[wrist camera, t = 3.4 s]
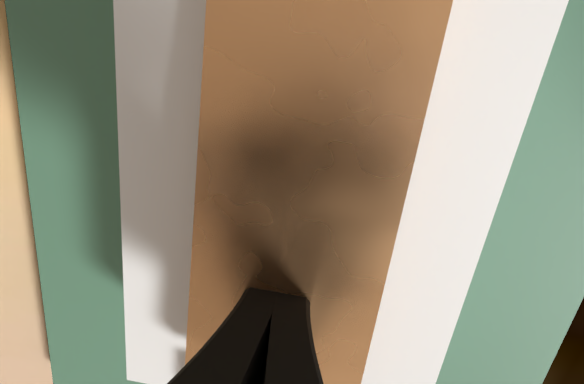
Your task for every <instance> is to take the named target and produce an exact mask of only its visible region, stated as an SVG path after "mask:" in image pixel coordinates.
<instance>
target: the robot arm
mask: <svg viewBox="0 0 584 384" xmlns="http://www.w3.org/2000/svg"><path fill="white" fill-rule="evenodd" d="M167 384H324V383H323V380H322V376H321V372H320V368H319V364H318V360H317V356H316V351H315V346H314V341H313V334H312V328H311V318H310V301H309V300H308V299H307V297H303V296H297V295H291V294H286V293H280V292H275V291H269V290H264V289H258V288H253V287H250V288H248V289H246V290H245V291H244V293H243V294H242V296H241V298H240V299H239V301H238V302H237V304H236V305H235V307H234V308H233V310H232V311H231V312H230V314H229V315H228V316H227V318H226V319H225V320H224V321H223V323H222V324H221V325H220V327H219V328H218V329H217V330H216V331H215V332H214V334H213V335H212V336H211V337H210V338H209V340H208V341H207V342H206V343H205V344H204V345H203V347H202V348H201V349H200V350H199V351H198V352H197V353H196V354H195V355H194V356H193V358H192V359H191V360H190V361H189V362H188V363H187V364H186V365H185V366H184V367H183V368H182V369H181V370H180V371H179V372H178V373H177V374H176V375H175V376H174V377H173V378H172V379H171V380H170V381H169V382H168V383H167Z"/></svg>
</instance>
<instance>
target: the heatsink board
mask: <svg viewBox="0 0 584 384" xmlns="http://www.w3.org/2000/svg"><path fill="white" fill-rule="evenodd" d="M5 8H6V16H7V24H8V31H9V39H10V47H11V55H12V63H13V71H14V79H15V86H16V94H17V102H18V110H19V118H20V126H21V134H22V141H23V149H24V157H25V165H26V173H27V181H28V189H29V196H30V204H31V212H32V220H33V228H34V236H35V244H36V251H37V259H38V267H39V275H40V283H41V291H42V299H43V306H44V314H45V322H46V330H47V338H48V346H49V354H50V361H51V369H52V377H53V384H167V383H168V382H169V381H170V380H171V379H172V378H173V377H174V376H175V375H176V374H177V373H178V372H179V371H180V370H181V369H182V368H183V367H184V366H185V355H186V338H187V321H188V304H189V286H190V269H191V252H192V235H193V218H194V201H195V184H196V167H197V150H198V133H199V116H200V98H201V81H202V64H203V47H204V30H205V13H206V0H5ZM583 297H584V0H453V3H452V7H451V12H450V16H449V20H448V24H447V28H446V32H445V37H444V41H443V45H442V49H441V53H440V57H439V62H438V66H437V70H436V74H435V78H434V82H433V86H432V91H431V95H430V99H429V103H428V107H427V111H426V116H425V120H424V124H423V128H422V132H421V136H420V141H419V145H418V149H417V153H416V157H415V161H414V165H413V170H412V174H411V178H410V182H409V186H408V190H407V195H406V199H405V203H404V207H403V211H402V215H401V220H400V224H399V228H398V232H397V236H396V240H395V244H394V249H393V253H392V257H391V261H390V265H389V269H388V274H387V278H386V282H385V286H384V290H383V294H382V299H381V303H380V307H379V311H378V315H377V319H376V323H375V328H374V332H373V336H372V340H371V344H370V348H369V353H368V357H367V361H366V365H365V369H364V373H363V377H362V382H361V384H542V383H543V381H544V379H545V376H546V374H547V372H548V370H549V368H550V366H551V364H552V362H553V360H554V358H555V356H556V354H557V351H558V349H559V347H560V345H561V343H562V341H563V339H564V337H565V335H566V333H567V331H568V329H569V326H570V324H571V322H572V320H573V318H574V316H575V314H576V312H577V310H578V308H579V306H580V304H581V301H582V299H583Z"/></svg>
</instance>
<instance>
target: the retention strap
mask: <svg viewBox="0 0 584 384" xmlns="http://www.w3.org/2000/svg"><path fill="white" fill-rule="evenodd" d="M452 3H453V0H206V13H205V30H204V47H203V64H202V81H201V98H200V116H199V133H198V150H197V167H196V184H195V201H194V218H193V235H192V252H191V269H190V286H189V304H188V321H187V338H186V355H185V365H186V364H187V363H188V362H189V361H190V360H191V359H192V358H193V356H194V355H195V354H196V353H197V352H198V351H199V350H200V349H201V348H202V347H203V345H204V344H205V343H206V342H207V341H208V340H209V338H210V337H211V336H212V335H213V334H214V332H215V331H216V330H217V329H218V328H219V327H220V325H221V324H222V323H223V321H224V320H225V319H226V318H227V316H228V315H229V314H230V312H231V311H232V310H233V308H234V307H235V305H236V304H237V302H238V301H239V299H240V298H241V296H242V294H243V293H244V291H245V290H246V289H248V288H250V287H253V288H258V289H264V290H269V291H275V292H280V293H286V294H291V295H297V296H303V297H307V299H308V300H309V301H310V318H311V328H312V334H313V341H314V346H315V351H316V356H317V360H318V364H319V368H320V372H321V376H322V380H323V383H324V384H361V382H362V377H363V373H364V369H365V365H366V361H367V357H368V353H369V348H370V344H371V340H372V336H373V332H374V328H375V323H376V319H377V315H378V311H379V307H380V303H381V299H382V294H383V290H384V286H385V282H386V278H387V274H388V269H389V265H390V261H391V257H392V253H393V249H394V244H395V240H396V236H397V232H398V228H399V224H400V220H401V215H402V211H403V207H404V203H405V199H406V195H407V190H408V186H409V182H410V178H411V174H412V170H413V165H414V161H415V157H416V153H417V149H418V145H419V141H420V136H421V132H422V128H423V124H424V120H425V116H426V111H427V107H428V103H429V99H430V95H431V91H432V86H433V82H434V78H435V74H436V70H437V66H438V62H439V57H440V53H441V49H442V45H443V41H444V37H445V32H446V28H447V24H448V20H449V16H450V12H451V7H452Z"/></svg>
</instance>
